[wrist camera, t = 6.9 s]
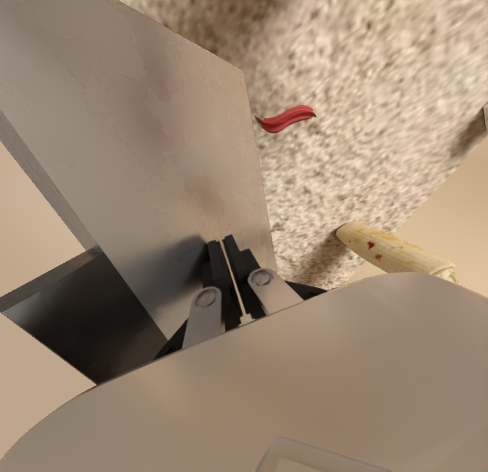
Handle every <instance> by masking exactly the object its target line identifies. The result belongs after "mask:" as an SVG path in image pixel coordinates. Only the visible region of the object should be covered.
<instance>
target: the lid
mask: <svg viewBox="0 0 488 472" xmlns="http://www.w3.org/2000/svg"><path fill="white" fill-rule="evenodd" d="M0 140H1V142H2V143H3V144H4V146H5V147H6V148H7V150H8V151H9V152H10V153H11V155H12V156H13V157H14V159H15V160H16V161H17V162H18V163H19V165H20V166H21V168H22V169H23V170H24V171H25V173H26V174H27V175H28V176H29V178H30V179H31V180H32V182H33V183H34V184H35V185H36V187H37V188H38V189H39V191H40V192H41V193H42V194H43V196H44V197H45V198H46V200H47V201H48V202H49V203H50V204H51V206H52V207H53V208H54V210H55V211H56V212H57V213H58V215H59V216H60V217H61V219H62V220H63V221H64V222H65V224H66V225H67V226H68V227H69V229H70V230H71V232H72V233H73V234H74V235H75V237H76V238H77V239H78V240H79V242H80V243H81V244H82V246H83V247H84V248H85V249H86V252H84V253H82V254H80V255H78V256H76V257H75V258H73V259H71V260H69V261H67V262H65V263H63V264H61V265H60V266H58V267H56V268H54V269H52V270H50V271H48V272H47V273H45V274H43V275H41V276H39V277H37V278H35V279H34V280H32V281H30V282H28V283H26V284H25V285H22V286H21V287H19V288H17V289H15V290H13V291H11V292H9V293H8V294H6V295H4V296H2V297H0V312H1V313H2V314H3V315H5V316H6V317H7V318H9V319H10V320H11V321H13V322H14V323H15V324H17V325H18V326H19V327H20V328H22V329H23V330H25V331H26V332H27V333H29V334H30V335H32V337H34V338H35V339H36V340H38V341H39V342H40V343H42V344H43V345H45V346H46V347H47V348H48V349H50V350H51V351H52V352H54V353H55V354H56V355H58V356H59V357H60V358H62V359H63V360H64V361H66V362H67V363H68V364H70V365H71V366H72V367H74V368H75V369H76V370H78V371H79V372H80V373H82V374H83V375H84V376H86V377H87V378H88V379H90V380H91V381H92V382H94V383H95V384H96V385H98V384H100V383H102V382H105V381H107V380H109V379H111V378H114V377H116V376H118V375H120V374H123V373H125V372H127V371H129V370H132V369H134V368H137V367H139V366H141V365H142V364H144V363H146V362H147V361H149V362H151V361H153V360H154V358H155V356H156V355H157V354H158V352H159V351H160V350H161V349H162V347H163V346H164V345H165V344H166V343H167V342H168V340H169V339H170V338H171V337H172V336H173V335H174V333H175V332H176V331H177V330H178V329H179V328H180V327H181V325H182V324H183V323H184V322H185V321H186V320H187V318H188V317H189V313H190V308H191V303H192V300H193V298H194V296H195V295H196V294H197V293H198V292H199V291H200V290H202V289H203V286H202V268H201V265H202V264H204V263H207V262H210V256H209V249H208V242H210V241H213V240H216V242H217V241H220V244H221V247H222V250H223V253H224V255H225V258H226V261H227V264H228V267H229V270H230V273H231V276H232V279H233V283H234V286H235V289H236V293H237V296H238V299H239V303H240V306H241V309H242V312H243V316H242V317H240V319H241V323H242V324H239V326H241V325H243V324H246V323H248V322H251V321H254V320H255V319H252V318H251V315H250V314H247V315H246V312H245V309H244V306H243V303H242V300H241V297H240V294H239V291H238V289H237V286H236V283H235V280H234V277H233V274H232V271H231V267H230V264H229V261H228V258H227V255H226V252H225V248H224V245H223V242H222V240H223V239H225V238H224V237H225V236H228V235H231V234H232V235H233V238H234V240H235V242H236V244H237V246H238V248H239V250H240V251H243V250H245V249H248V248H249V249H250V250H251V252H252V254H253V255H254V257H255V259H256V260H257V262H258V264H259V265H260V267H261V268H269V269H272V270H273V271H275V272H276V273H277V266H276V260H275V254H274V248H273V242H272V236H271V230H270V224H269V218H268V212H267V206H266V200H265V195H264V189H263V183H262V177H261V171H260V165H259V159H258V153H257V147H256V141H255V135H254V129H253V123H252V117H251V111H250V105H249V100H248V94H247V88H246V82H245V76H244V71H243V70H241V69H239V68H238V67H236V66H234V65H232V64H231V63H229V62H227V61H225V60H223V59H222V58H220V57H218V56H216V55H215V54H213V53H211V52H209V51H207V50H206V49H204V48H202V47H200V46H198V45H197V44H195V43H193V42H191V41H190V40H188V39H186V38H184V37H182V36H181V35H179V34H177V33H175V32H174V31H172V30H170V29H168V28H166V27H165V26H163V25H161V24H159V23H157V22H156V21H154V20H152V19H150V18H149V17H147V16H145V15H143V14H141V13H140V12H138V11H136V10H134V9H133V8H131V7H129V6H127V5H125V4H124V3H122V2H120V1H118V0H0Z"/></svg>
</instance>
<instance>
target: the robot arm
mask: <svg viewBox="0 0 488 472" xmlns="http://www.w3.org/2000/svg"><path fill="white" fill-rule="evenodd" d="M224 238H225V239H223V240H222V242H223V245H224V248H225V252H226V255H227V258H228V261H229V264H230V267H231V271H232V274H233V277H234V280H235V283H236V286H237V289H238V291H239V294H240V297H241V300H242V303H243V306H244V309H245V312H246V315H247V314H250V315H251V318H252V319H255V320H254V321H251V322H248V323H246V324H243V325H241V326H239V324H242V323H241V319H240V317H242V316H243V312H242V309H241V306H240V303H239V299H238V296H237V293H236V289H235V286H234V283H233V279H232V276H231V273H230V270H229V267H228V264H227V261H226V258H225V255H224V253H223V250H222V247H221V244H220V241H217V242H216V240H213V241H210V242H208V249H209V256H210V262H207V263H204V264H202V265H201V268H202V286H203V289H202V290H200V291H199V292H198V293H197V294H196V295H195V296H194V298H193V300H192V303H191V308H190V313H189V317H188V318H187V320H186V321H185V322H184V323H183V324H182V325H181V327H180V328H179V329H178V330H177V331H176V332H175V333H174V335H173V336H172V337H171V338H170V339H169V340H168V342H167V343H166V344H165V345H164V346H163V347H162V349H161V350H160V351H159V352H158V354H157V355H156V356H155V358H154V360H153V361H151V362H149V361H147V362H146V363H144V364H142V365H141V366H139V367H137V368H134V369H132V370H129V371H127V372H125V373H123V374H120V375H118V376H116V377H114V378H111V379H109V380H107V381H105V382H102V383H100V384H98V385H96V386H94V387H92V388H91V389H88V390H87V391H85V392H83V393H81V394H79V395H78V396H76V397H74V398H73V399H71V400H69V401H68V402H66V403H65V404H63V405H62V406H60V407H59V408H57V409H56V410H55V411H53V412H52V413H51V414H49V415H48V416H46V417H45V418H44V419H42V420H41V421H40V422H38V423H37V424H36V425H35V426H34V427H32V428H31V429H30V430H29V431H28V432H27V433H26V434H24V435H23V436H22V437H21V438H20V439H19V440H18V441H17V442H16V443H15V444H14V445H13V446H12V447H11V448H10V449H9V450H8V451H7V452H6V453H5V455H4V456H3V457H2V458H1V460H0V472H488V298H487V297H485V296H483V295H481V294H479V293H476V292H474V291H472V290H470V289H467V288H465V287H463V286H460V285H458V284H456V283H453V282H451V281H448V280H445V279H443V278H440V277H437V276H433V275H430V274H425V273H415V272H401V273H388V274H383V275H376V276H373V277H369V278H365V279H362V280H359V281H356V282H353V283H350V284H347V285H344V286H341V287H338V288H332V289H331V291H326V290H324V289H321V288H316V287H312V286H307V285H302V284H297V283H293V282H288V281H284V280H283V279H282V278H281V277H280V276H279V275H278V274H277V273H276V272H275V271H273V270H272V269H269V268H261V267H260V265H259V264H258V262H257V260H256V259H255V257H254V255H253V254H252V252H251V250H250V249H249V248H248V249H245V250H243V251H240V250H239V248H238V246H237V244H236V242H235V240H234V238H233V235H232V234H231V235H228V236H225V237H224Z"/></svg>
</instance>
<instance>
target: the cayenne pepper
mask: <svg viewBox="0 0 488 472" xmlns="http://www.w3.org/2000/svg"><path fill="white" fill-rule="evenodd" d="M312 111H313V109H312V108H310V107H308V106H305V105H300V106H296V107H293V108H291V109H289V110H287V111H286V112H284V113H282V114H280V115H278V116H276V117H273V118H264V121H262V120H260V119H259V118H257V117H256V116H255V115H254V116H255V117H256V118H257V119H258V120H259V121H260V122H261V123H262V124H263V126H262V128H263V129H265V130H267V131H270V132H278V131H280V130H282V129H284V128H285V127H287V126H288V125H290V124H292V123H294V122H296V121H299V120H303V119H308V118H312V115H314V116H316V115H315V114H314V113H313V112H312Z"/></svg>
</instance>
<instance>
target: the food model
mask: <svg viewBox="0 0 488 472" xmlns="http://www.w3.org/2000/svg"><path fill="white" fill-rule="evenodd" d="M336 235H337V237H338V238H339V239H340V240H341V241H342V242H343V243H344V244H345V245H346V246H347V247H349V248H350V249H351V250H352V251H354V252H355V253H356V254H358V255H359V256H361V257H362V258H364V259H365V260H367V261H368V262H370V263H372V264H373V265H375V266H377V267H379V268H380V269H382V270H384V271H385V272H387V273H401V272H415V273H425V274H430V275H433V276H437V277H440V278H443V279H445V280H448V281H451V282H453V283H456V284H458V282H459V280H458V277H457V275H456V274H455V273H454V271H453V270H452V269H450V268H453V267H456V266H455V265H454V264H452V263H451V262H450V261H448V260H447V259H444V258H442V257H440V256H438V255H436V254H433V253H431V252H428V251H426V250H424V249H422V248H419V247H417V246H415V245H413V244H410V243H408V242H406V241H404V240H402V239H399V238H397V237H395V236H392V235H390V234H387V233H384V232H382V231H379V230H377V229H374V228H371V227H369V226H366V225H363V224H360V223H355V222H349V223H346V224H345V225H343V226H342V227H340V228H339V229H337V232H336Z"/></svg>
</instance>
